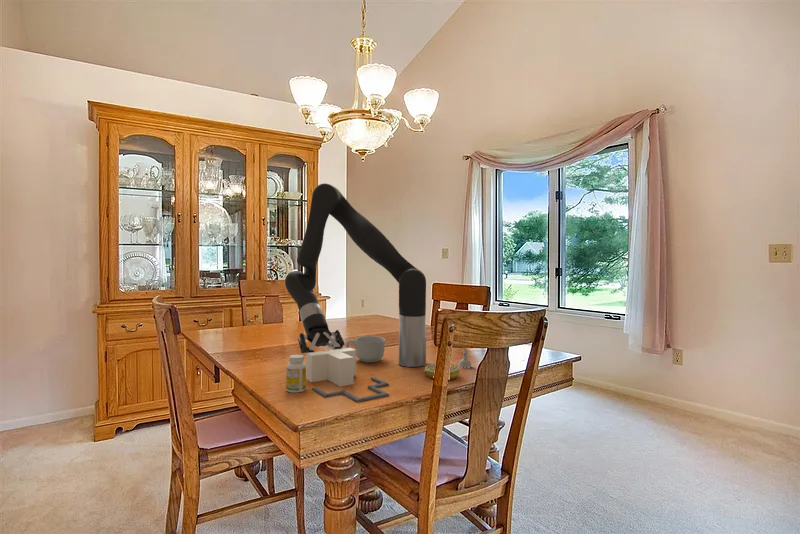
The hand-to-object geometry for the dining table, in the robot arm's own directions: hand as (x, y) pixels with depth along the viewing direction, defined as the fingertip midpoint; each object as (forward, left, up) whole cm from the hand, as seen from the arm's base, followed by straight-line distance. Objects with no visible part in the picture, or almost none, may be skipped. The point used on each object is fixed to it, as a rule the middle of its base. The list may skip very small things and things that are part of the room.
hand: (327, 360), depth 141 cm
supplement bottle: (+8, +15, -5) cm, 18 cm away
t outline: (-9, +16, -5) cm, 19 cm away
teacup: (-12, -19, -5) cm, 23 cm away
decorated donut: (-36, +3, -5) cm, 36 cm away
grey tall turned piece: (-46, -9, -5) cm, 47 cm away
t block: (-3, +6, -5) cm, 8 cm away
